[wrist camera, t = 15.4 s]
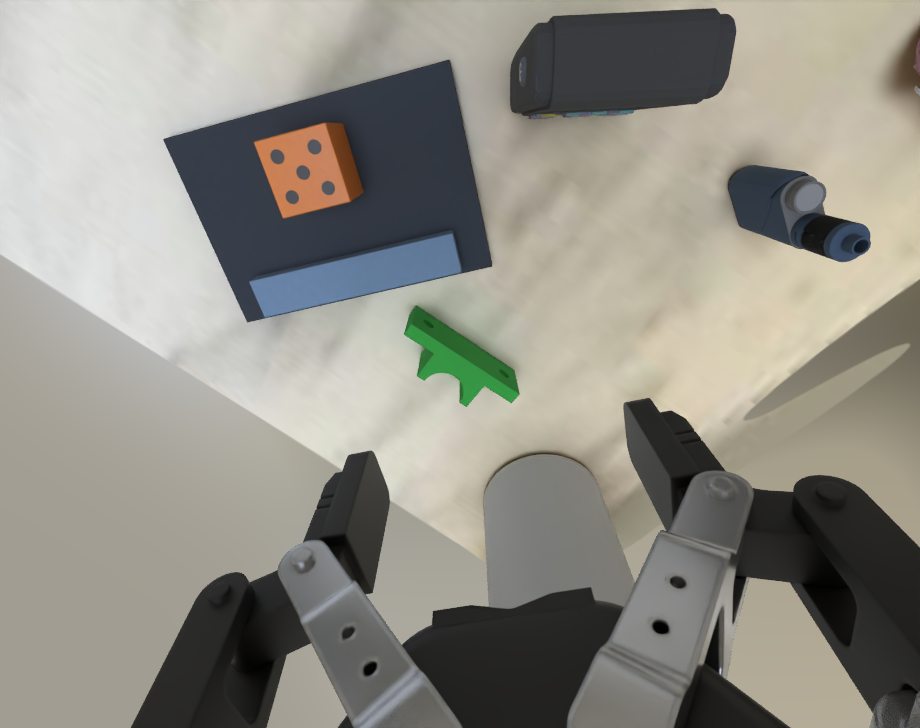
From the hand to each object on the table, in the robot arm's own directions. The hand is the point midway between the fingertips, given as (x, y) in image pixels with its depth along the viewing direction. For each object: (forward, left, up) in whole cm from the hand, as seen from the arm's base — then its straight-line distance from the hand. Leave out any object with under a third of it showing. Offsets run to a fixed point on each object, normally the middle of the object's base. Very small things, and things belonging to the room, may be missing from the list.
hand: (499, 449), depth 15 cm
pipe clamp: (+9, -4, -28) cm, 30 cm away
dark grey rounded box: (-10, +9, -28) cm, 31 cm away
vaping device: (+1, +22, -28) cm, 36 cm away
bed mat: (-6, -10, -28) cm, 30 cm away
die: (-9, -10, -27) cm, 30 cm away
